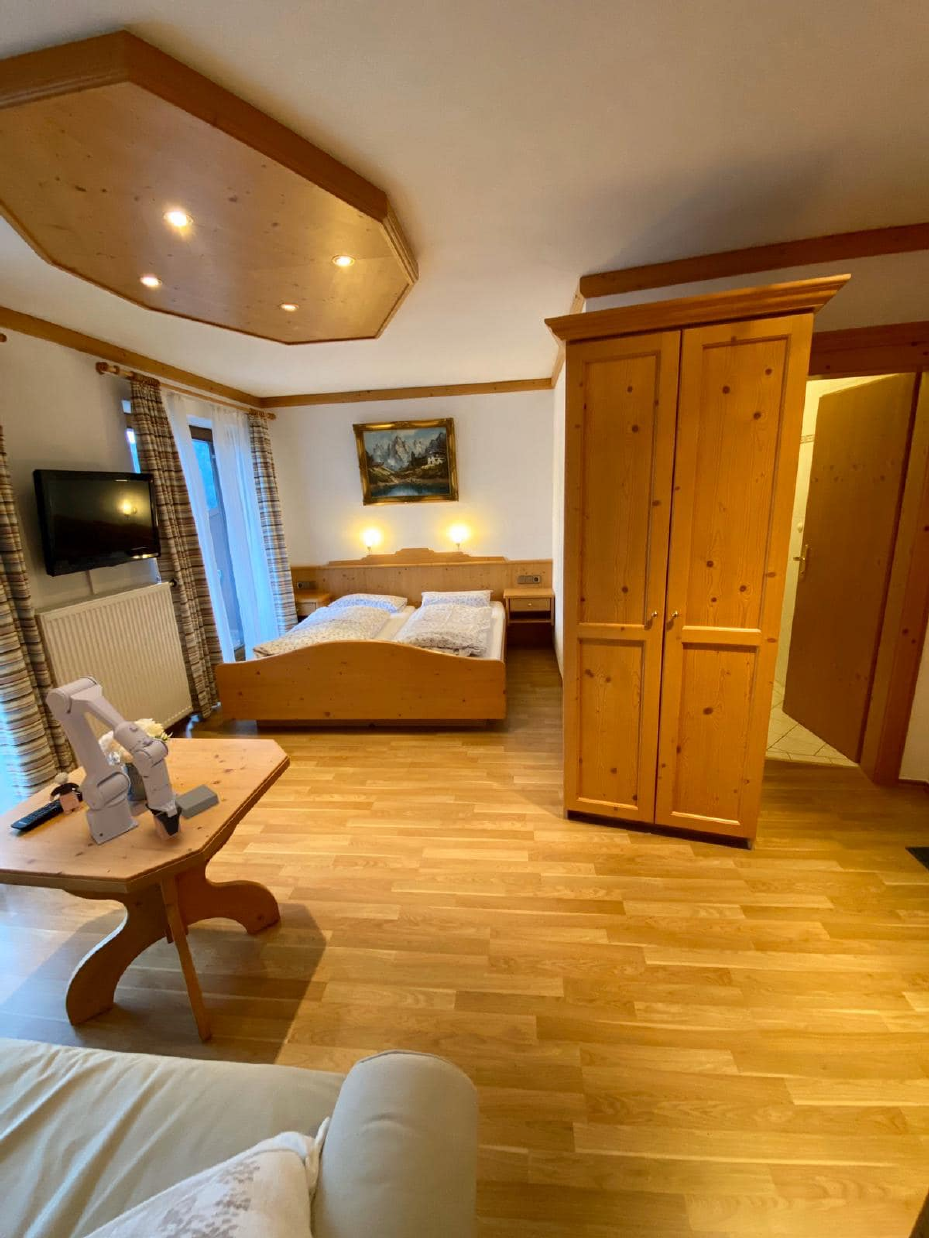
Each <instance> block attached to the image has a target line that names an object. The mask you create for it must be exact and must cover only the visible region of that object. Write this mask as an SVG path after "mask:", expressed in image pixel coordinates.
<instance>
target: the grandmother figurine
mask: <svg viewBox="0 0 929 1238" xmlns="http://www.w3.org/2000/svg"><path fill="white" fill-rule="evenodd" d="M53 781H54V784H57V786H56V787H55V788H54V789H52V791H51V793H50V794H49V795H50V796H49V802H53V801H54V800H55V797H56V796H58V795H59V797H58V798H59V801H60V804H61V807H62V809H63V813H64V815H70V814H71V813H72V812H73V810H74V812H78V811H80V810H81V809H82V808H83V806H84V805H83V804H81V803H80V801H79V798H78V796H77V793H76V792H75V790H77V791H78V792H79V793H82V791H81V789H80V785H79V784H78V783H74V782H69V775H68V773H67V772H66V771H64V772H59V773H58V774H57V775H55V777H54V780H53Z"/></svg>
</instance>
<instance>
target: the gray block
mask: <svg viewBox="0 0 929 1238" xmlns="http://www.w3.org/2000/svg"><path fill="white" fill-rule="evenodd" d="M218 804H220V801H219V797H218V793H216V792H215V791H214V790H212V789H211V788H210V787H208V786H207V785H206V784H205V783H204V784H201V785H200V786H196V787H195V788H193V789H191V790H188V791H186V792H184V793H182V794H179V795H178V796H176V797H175V807H176V808H177V807H179V806H180V807H181V808H182V812H181V815H182V816H183V817H185V819H187V820H188V819H190V818H192V817H195V816H196V815H198V814H200V813H202V812H204V811H206V810H208V809H210V808H212V807H214V806H216V805H218Z"/></svg>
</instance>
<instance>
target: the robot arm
mask: <svg viewBox="0 0 929 1238" xmlns="http://www.w3.org/2000/svg"><path fill="white" fill-rule="evenodd" d="M45 702H46V704H47V706H48V708H49V710H50V712H51V714H52V716H53V718H54V719H55V721H58V722H59V725H60V726H61V728H62V730H63V732H64V734H65V735H66V738H67V740H68V742H69V743H70V745H71V747H72V749H73V751H74V753H75V755H76V757H77V759H78V761H79V763H80V765H81V767H82V768H83V771H84V772H85V776H84V778H83V780H82V782H81V784H80V785H79V786H80V789H81V791H82V792H81V794H82V801H83V803H84V805H86V806H87V807H88V808H89V809H86V810H85V811H84V815H85V819H86V821H87V825H88V828H89V833H90V835H91V836H92V838H93V839H94V840H95V842H96V844H98V845H101V844H103V843H105V842H107V841H109V840H112V839H113V838H116V837H118V836H120V835H122V834H124V833H126V832H128V831H130V830H132V829H135V828H136V827H138V826H139V823H138V822H137V820H136V819H135V818H134V817H133V815H132V813H131V812H132V811H131V810H130V805H129V801H128V798H127V795H128V794H129V789H130V788H131V786H132V783H131V778H130V776H129V775H128V774H127V773H126V772H125V771H124V770H123V769H122V766H121V765H116V764H110V763H109V761H108V758H107V757H106V754H105V753H104V750H103V749H102V746H101V744H100V743H99V741H98V739H97V737H96V735H95V733H94V731H93V728H92V727H91V725H90V722H89V721H88V719H87V717H86V713H89V714H90V715H91V716H93V717H94V718H95V719H97V720H98V721H99V722H101V723H102V724H103V725H105V726H106V727H108V728H109V730H111V731H112V739H113V740H114V741H116V742H117V743H118V744H119V746H121V747H122V748H123V749H124V750H125V751H126V752H127V753H129V754H130V756H131V757H132V759H131V763H132V765H134V767H135V768H136V769H137V772H138V774H139V776H141V777H142V781H143V782H142V783H143V786H144V789H145V793H146V798H147V802H146V803H145V804H144V806H145V807H146V809H147V810H149V812H151V814H152V816H154V815H156V814H158V813H161V812H163V811H164V812H165V813H162V814H160V815H158V816H156V818H157V819H158V820H160V821H161V822H162V823H163V825H164V827H165V829H166V831H167V833H168V834H169V836H171V835H173V834H175V833H177V832H178V827H179V822H180V817H181V815H182V814H181V812H182V808H181V807H180V806H179V807H177V808H176V807H175V798H176V797H178V796H180V794H179V792H178V791H176V790H174V791H173V787H172V783H171V778H170V775H169V771H168V766H167V762H166V757H168V755H169V747H168V745H167V744H166V743H165V741H164V740H162V739H161V738H156V737H155V736H150V735H149V734H148V733H147V732H146V731H144V730H143V728H141V727H140V726H139V724H137V723H136V722H134V721H127V720H125V718H124V717H123V716H122V715H121V714H120V713H119V712H118V711H117V710H116V709H115V708H114V705H112V704H111V703H110V702H109V701H108V700H107V699H106V697H105V696H104V687H103V686H102V685H101V684H100V683H99V682H98V681H97V680H96V679H95V678H94V677H91V676H87V675H86V676H83V677H82V678H79V679H77V680H75V681H72V682H69V683H67V684H65V685H62V686H59V687H56V688H52V689H50V690H49V692H47V696H46V698H45Z"/></svg>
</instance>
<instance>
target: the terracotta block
mask: <svg viewBox="0 0 929 1238" xmlns="http://www.w3.org/2000/svg"><path fill="white" fill-rule="evenodd" d="M162 813H165V812H164V811H163V812H161V813H158V814H156V815H152V817H153V822H154V825H155V830H156V834H157V836H158V837H159V838H160V839H161V840H162V841H163V842H166V841H168V840H170V839H171V838H173V837H175V836H177V835H179V834H181V833H182V827H181V823H180V821H179V827H178V832H177V833H175V834H173V835H171V836H169V834H168V833H167V831H166V829H165V827H164V825H163V823H162V822H161V821H160V820H158V819H157V818H156V816H158V815H160V814H162Z"/></svg>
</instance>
